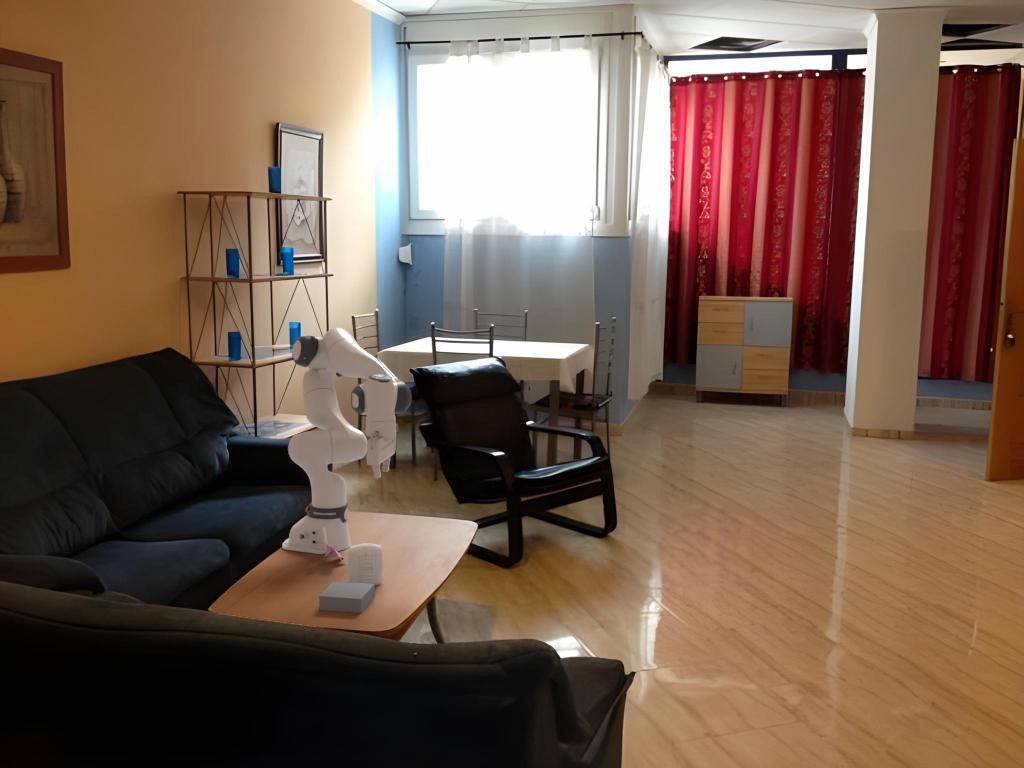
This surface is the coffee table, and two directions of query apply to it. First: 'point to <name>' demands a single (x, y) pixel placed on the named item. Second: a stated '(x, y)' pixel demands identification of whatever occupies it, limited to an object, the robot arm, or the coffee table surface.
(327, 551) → the lily
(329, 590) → the slate block
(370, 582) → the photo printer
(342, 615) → the coffee table surface
